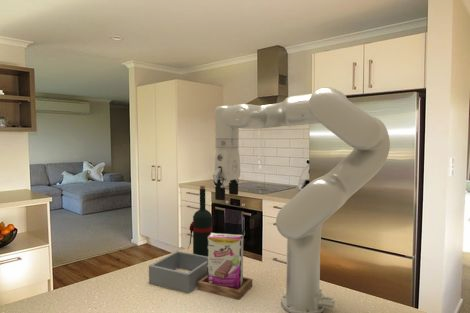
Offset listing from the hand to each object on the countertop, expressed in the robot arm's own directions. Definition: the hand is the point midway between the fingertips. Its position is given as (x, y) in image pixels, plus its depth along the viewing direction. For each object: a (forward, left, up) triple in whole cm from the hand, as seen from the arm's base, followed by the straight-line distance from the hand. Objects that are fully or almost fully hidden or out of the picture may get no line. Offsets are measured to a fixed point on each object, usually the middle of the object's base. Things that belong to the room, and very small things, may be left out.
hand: (227, 197), depth 109 cm
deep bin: (+16, +2, -30) cm, 34 cm away
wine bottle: (+19, -14, -30) cm, 38 cm away
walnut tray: (0, +2, -30) cm, 30 cm away
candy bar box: (0, +2, -29) cm, 29 cm away
